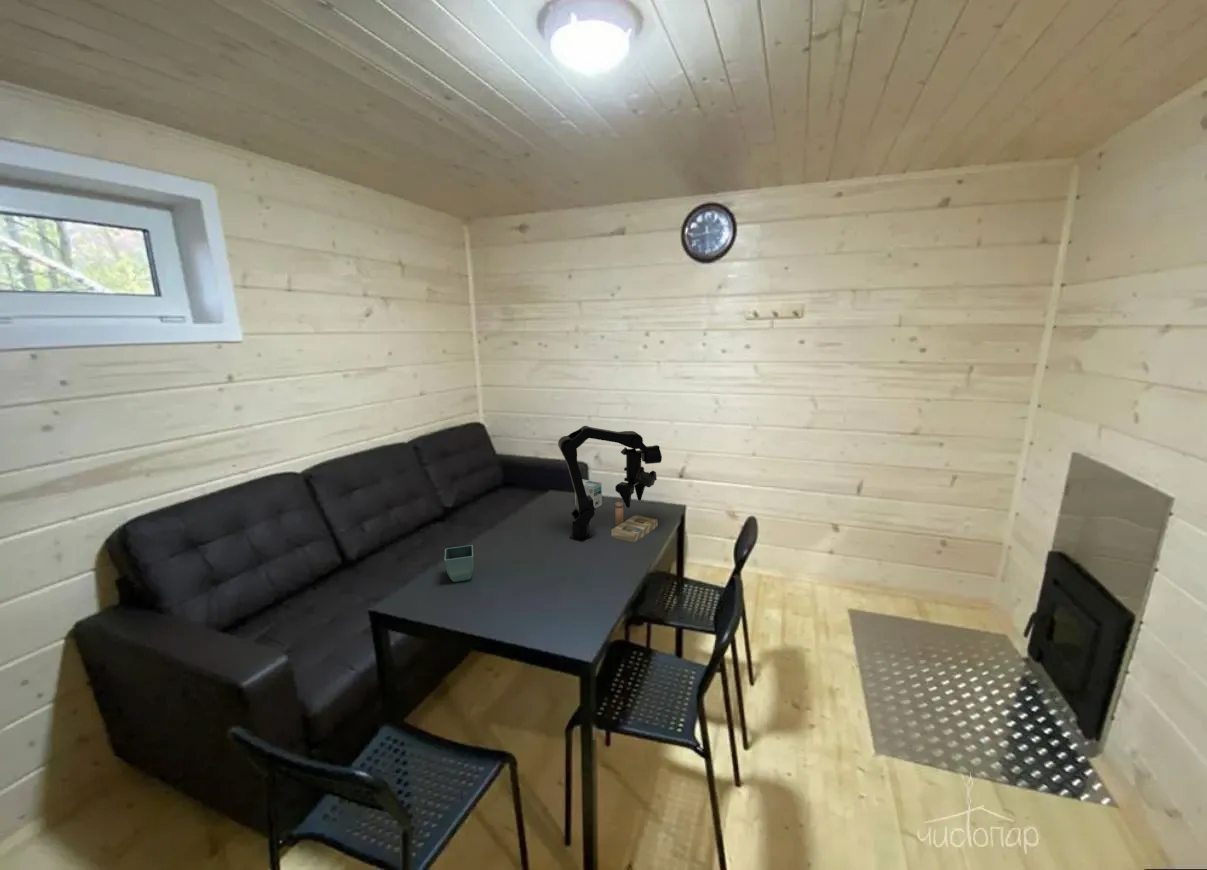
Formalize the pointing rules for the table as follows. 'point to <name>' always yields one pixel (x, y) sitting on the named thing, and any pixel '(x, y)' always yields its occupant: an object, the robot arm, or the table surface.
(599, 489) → the light bulb box
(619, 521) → the plug
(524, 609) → the table surface
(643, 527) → the socket block
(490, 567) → the table surface
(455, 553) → the flower pot
